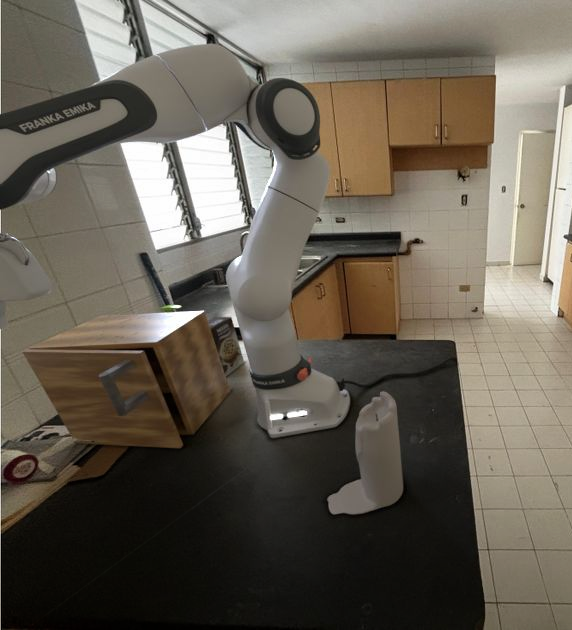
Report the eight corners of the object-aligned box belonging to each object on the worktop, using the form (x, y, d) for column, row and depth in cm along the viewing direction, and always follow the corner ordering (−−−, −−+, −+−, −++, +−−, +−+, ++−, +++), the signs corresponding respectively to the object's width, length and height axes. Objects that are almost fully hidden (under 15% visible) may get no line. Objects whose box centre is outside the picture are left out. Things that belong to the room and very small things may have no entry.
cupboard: (193, 434, 78) (156, 342, 68) (80, 439, 78) (28, 348, 68) (230, 391, 94) (204, 310, 84) (136, 395, 94) (100, 315, 84)
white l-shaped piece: (326, 489, 63) (307, 402, 55) (397, 469, 66) (390, 384, 58) (328, 524, 56) (308, 432, 48) (407, 499, 60) (400, 409, 52)
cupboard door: (158, 469, 69) (111, 369, 59) (46, 463, 71) (-16, 367, 62) (183, 445, 75) (144, 350, 65) (79, 440, 78) (27, 349, 68)
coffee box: (225, 378, 100) (209, 329, 94) (206, 376, 101) (190, 328, 95) (245, 362, 108) (232, 316, 102) (228, 360, 109) (214, 315, 103)
